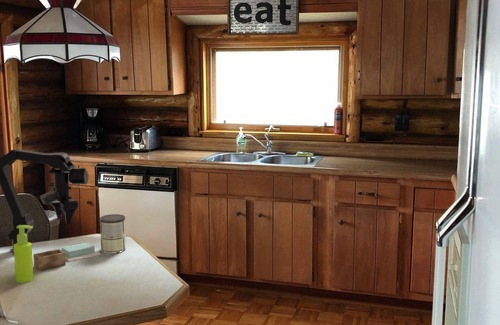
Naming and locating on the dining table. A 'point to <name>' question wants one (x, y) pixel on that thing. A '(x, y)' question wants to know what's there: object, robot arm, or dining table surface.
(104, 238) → the coffee can
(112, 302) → the dining table surface
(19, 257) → the soap dispenser
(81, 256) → the mat
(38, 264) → the wooden box
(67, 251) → the lid
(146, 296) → the dining table surface
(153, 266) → the dining table surface
